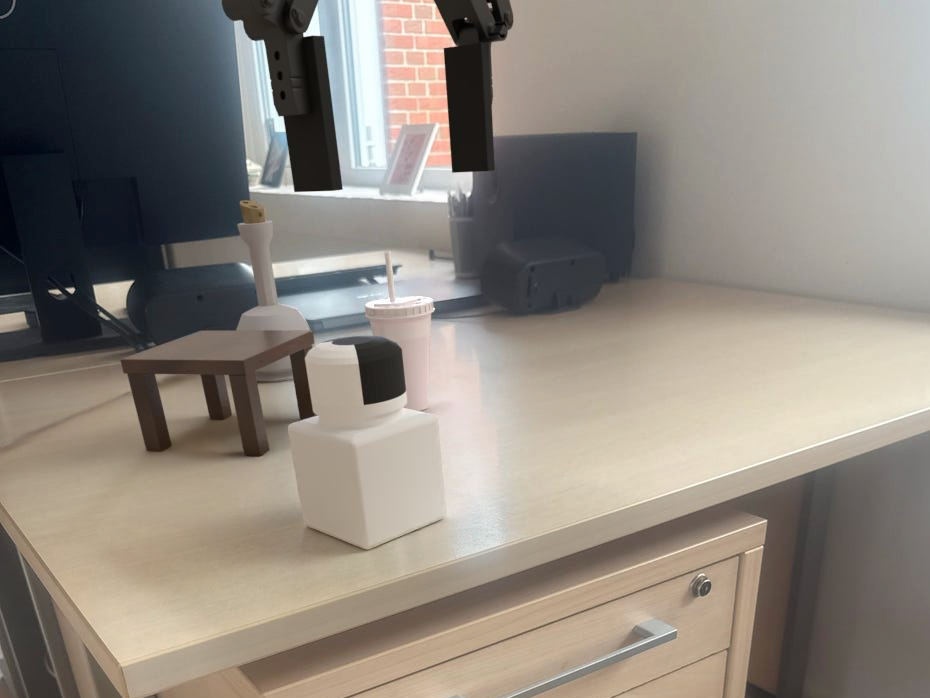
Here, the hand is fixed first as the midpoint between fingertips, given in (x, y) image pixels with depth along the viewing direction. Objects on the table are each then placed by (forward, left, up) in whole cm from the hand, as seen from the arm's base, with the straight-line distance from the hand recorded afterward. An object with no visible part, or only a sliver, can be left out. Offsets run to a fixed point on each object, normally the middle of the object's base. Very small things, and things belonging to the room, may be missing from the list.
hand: (403, 181), depth 51 cm
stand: (-26, +17, -21) cm, 37 cm away
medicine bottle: (-4, -1, -21) cm, 21 cm away
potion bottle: (-34, +39, -21) cm, 56 cm away
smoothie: (-13, +27, -21) cm, 37 cm away
